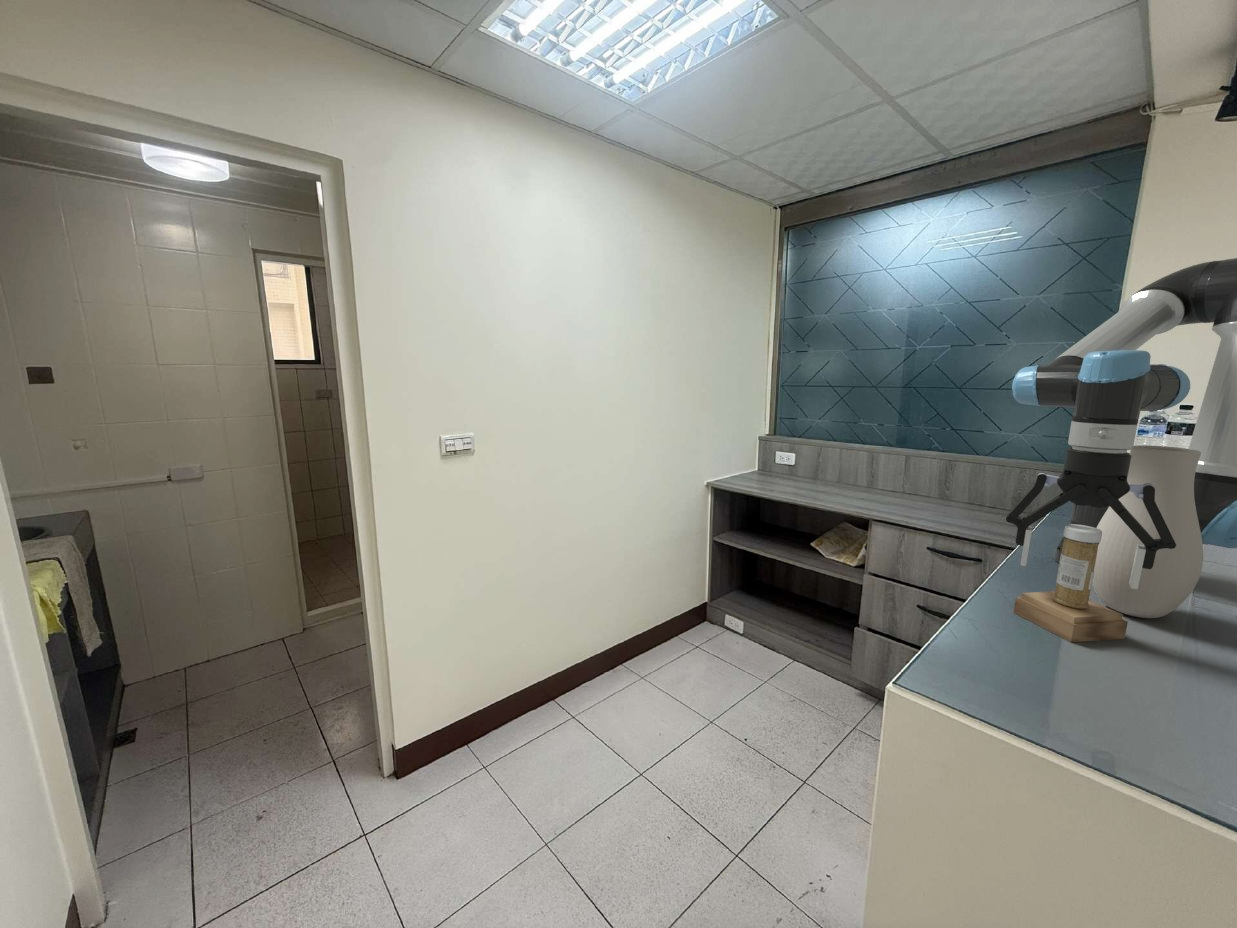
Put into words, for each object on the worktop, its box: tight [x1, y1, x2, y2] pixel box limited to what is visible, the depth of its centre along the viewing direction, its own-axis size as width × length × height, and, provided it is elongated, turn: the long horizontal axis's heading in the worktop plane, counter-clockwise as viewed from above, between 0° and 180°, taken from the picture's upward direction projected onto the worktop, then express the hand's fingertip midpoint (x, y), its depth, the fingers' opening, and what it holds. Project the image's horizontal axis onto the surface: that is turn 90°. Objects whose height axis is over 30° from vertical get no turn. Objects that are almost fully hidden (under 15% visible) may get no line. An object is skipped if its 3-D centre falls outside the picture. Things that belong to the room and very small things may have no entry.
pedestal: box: [1013, 590, 1129, 643], centre depth 83 cm, size 10×10×4 cm
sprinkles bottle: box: [1053, 523, 1102, 609], centre depth 82 cm, size 5×5×13 cm
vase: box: [1092, 444, 1204, 619], centre depth 86 cm, size 14×14×30 cm
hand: (1075, 574), depth 82 cm, fingers open, 13 cm apart
